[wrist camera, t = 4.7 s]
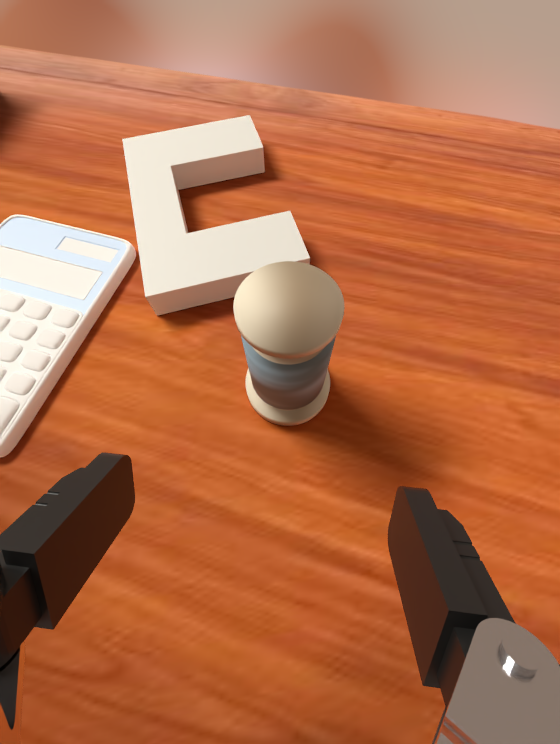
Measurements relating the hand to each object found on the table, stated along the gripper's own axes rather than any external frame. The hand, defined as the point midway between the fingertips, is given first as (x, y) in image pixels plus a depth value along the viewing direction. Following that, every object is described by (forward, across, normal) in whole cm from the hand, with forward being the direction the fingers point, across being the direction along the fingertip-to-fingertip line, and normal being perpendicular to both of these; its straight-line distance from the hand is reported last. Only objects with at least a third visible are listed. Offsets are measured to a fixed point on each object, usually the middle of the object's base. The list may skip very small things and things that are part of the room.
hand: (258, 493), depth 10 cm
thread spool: (+15, 0, +3) cm, 15 cm away
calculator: (+18, +23, +1) cm, 29 cm away
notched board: (+27, +9, -9) cm, 30 cm away
